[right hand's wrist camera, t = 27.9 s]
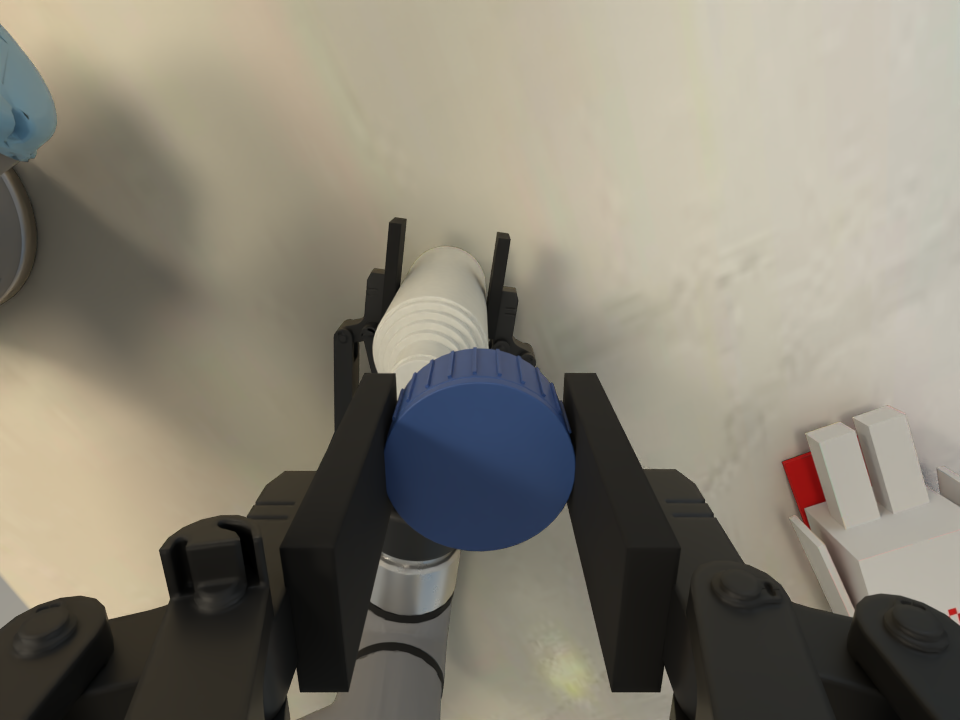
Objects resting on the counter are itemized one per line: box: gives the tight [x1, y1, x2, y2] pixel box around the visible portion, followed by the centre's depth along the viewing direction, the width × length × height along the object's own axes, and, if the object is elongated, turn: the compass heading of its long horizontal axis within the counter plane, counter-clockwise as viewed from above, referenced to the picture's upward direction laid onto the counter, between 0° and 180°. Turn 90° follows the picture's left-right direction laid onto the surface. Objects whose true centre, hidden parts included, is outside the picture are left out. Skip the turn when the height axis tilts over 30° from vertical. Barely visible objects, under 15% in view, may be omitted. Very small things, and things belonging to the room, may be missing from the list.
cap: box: [384, 347, 576, 551], centre depth 14 cm, size 4×4×2 cm
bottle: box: [373, 246, 489, 401], centre depth 35 cm, size 6×6×21 cm
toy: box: [782, 405, 960, 625], centre depth 48 cm, size 12×13×30 cm
